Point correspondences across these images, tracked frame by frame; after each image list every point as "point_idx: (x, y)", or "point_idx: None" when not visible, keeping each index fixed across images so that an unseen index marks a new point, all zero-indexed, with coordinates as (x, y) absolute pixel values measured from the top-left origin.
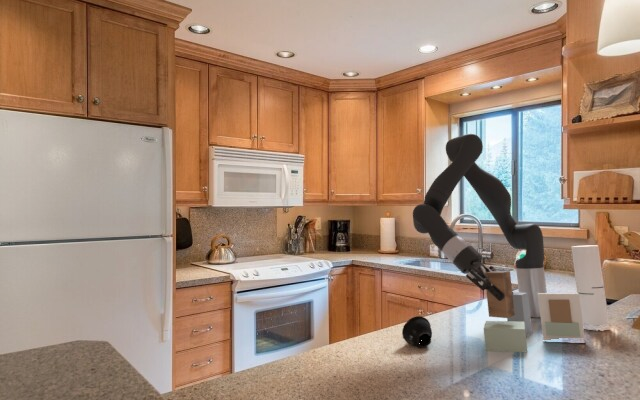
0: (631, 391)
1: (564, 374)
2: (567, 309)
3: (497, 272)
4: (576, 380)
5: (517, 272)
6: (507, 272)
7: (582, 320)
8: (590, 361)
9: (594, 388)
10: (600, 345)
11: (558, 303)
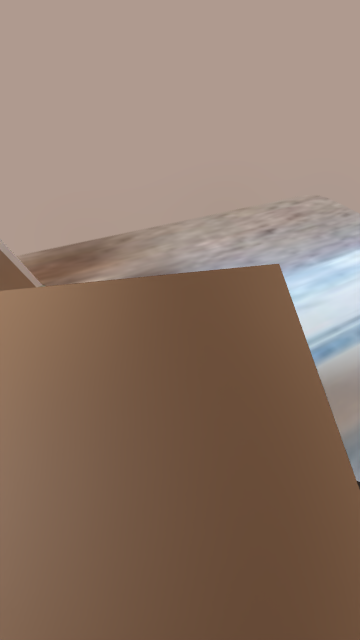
0: (309, 196)
1: (311, 263)
2: (21, 277)
3: (239, 391)
4: (325, 243)
5: None
6: (62, 294)
7: (33, 275)
8: (204, 261)
9: (337, 220)
10: (75, 283)
11: (8, 283)
